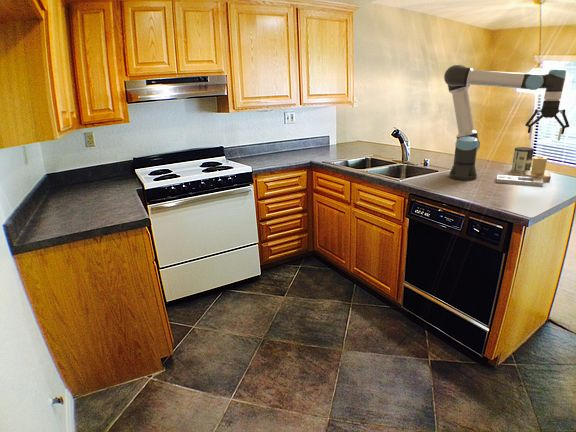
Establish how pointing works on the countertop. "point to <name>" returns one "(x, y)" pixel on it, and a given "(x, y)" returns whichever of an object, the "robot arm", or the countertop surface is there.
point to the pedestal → (544, 177)
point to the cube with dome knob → (539, 165)
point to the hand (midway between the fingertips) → (543, 139)
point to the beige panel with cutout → (519, 180)
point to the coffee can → (522, 159)
